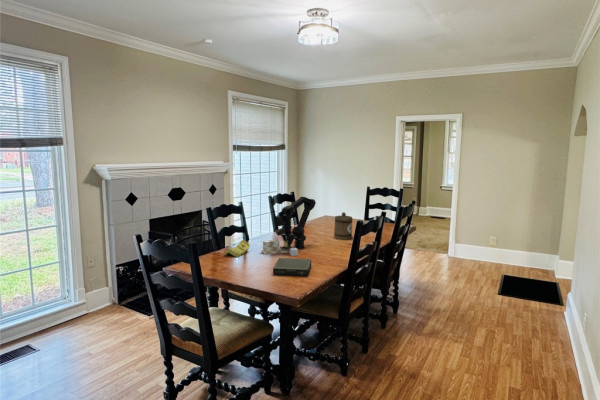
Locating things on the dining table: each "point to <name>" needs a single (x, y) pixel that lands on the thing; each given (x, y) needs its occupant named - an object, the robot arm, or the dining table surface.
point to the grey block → (293, 251)
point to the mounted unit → (273, 247)
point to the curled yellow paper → (238, 249)
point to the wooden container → (343, 227)
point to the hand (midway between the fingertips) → (287, 245)
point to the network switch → (292, 267)
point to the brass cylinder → (286, 245)
